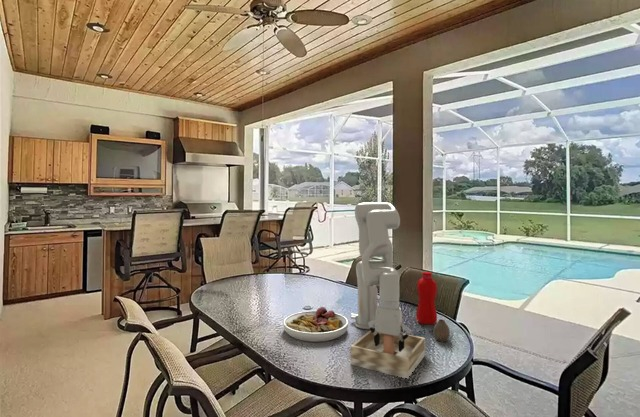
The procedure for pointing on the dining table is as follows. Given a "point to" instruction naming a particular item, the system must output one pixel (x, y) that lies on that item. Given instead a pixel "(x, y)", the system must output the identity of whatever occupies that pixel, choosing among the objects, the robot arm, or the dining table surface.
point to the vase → (441, 331)
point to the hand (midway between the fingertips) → (388, 347)
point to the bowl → (316, 325)
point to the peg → (389, 344)
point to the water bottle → (426, 299)
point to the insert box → (388, 355)
